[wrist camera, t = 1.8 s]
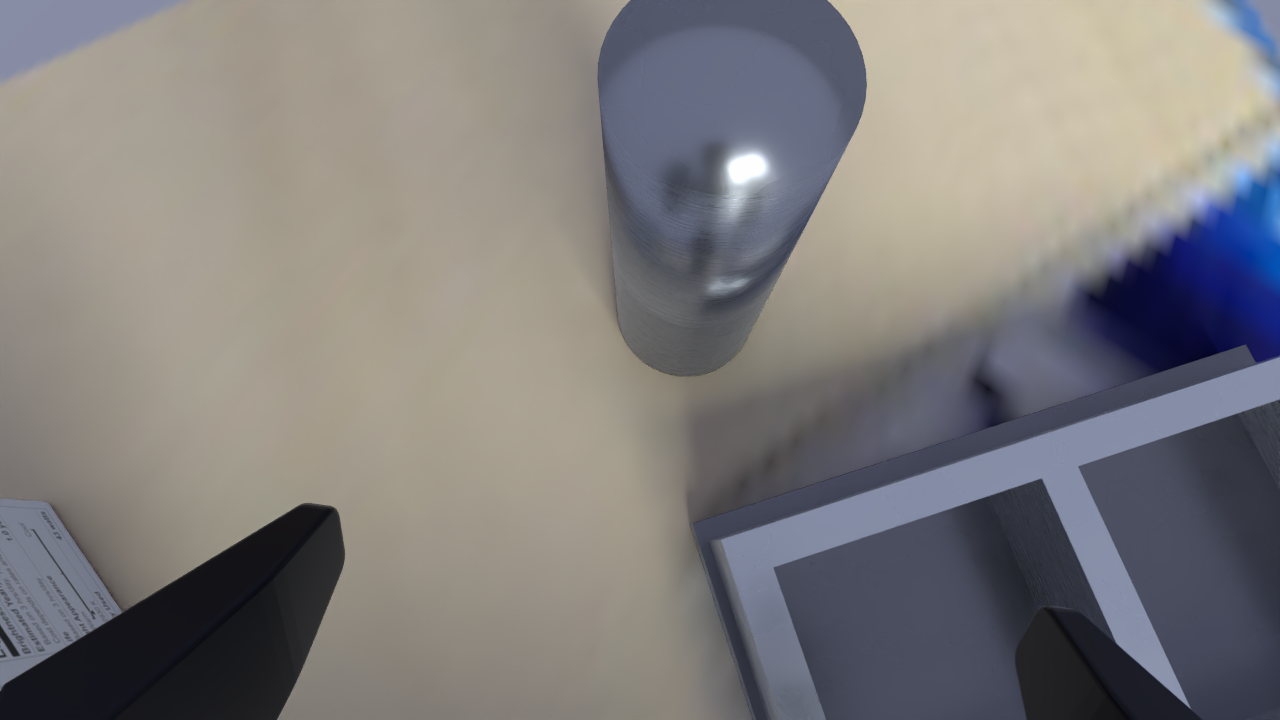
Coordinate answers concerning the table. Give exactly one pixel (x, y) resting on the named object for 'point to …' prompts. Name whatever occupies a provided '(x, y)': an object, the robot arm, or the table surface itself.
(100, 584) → the light bulb box
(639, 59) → the shiny gray cylinder
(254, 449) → the table surface
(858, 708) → the gray divided tray
